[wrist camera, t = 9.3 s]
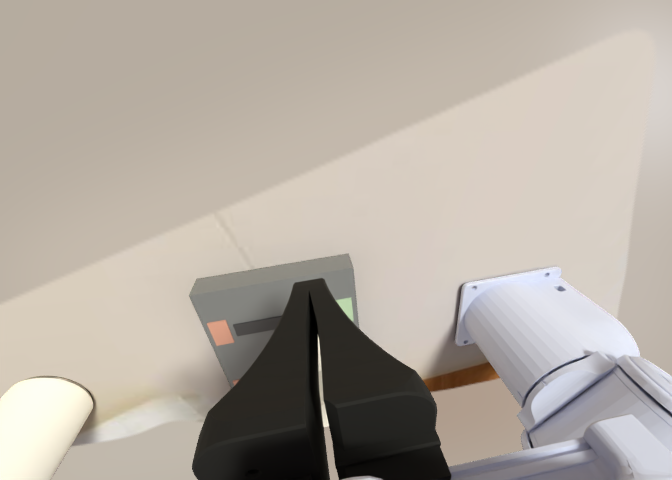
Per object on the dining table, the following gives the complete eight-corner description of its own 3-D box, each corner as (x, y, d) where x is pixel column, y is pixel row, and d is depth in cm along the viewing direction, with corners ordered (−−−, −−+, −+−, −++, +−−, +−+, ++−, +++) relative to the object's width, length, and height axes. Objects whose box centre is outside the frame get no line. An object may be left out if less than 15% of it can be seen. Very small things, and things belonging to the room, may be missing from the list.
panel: (348, 253, 24) (353, 268, 22) (360, 373, 31) (365, 391, 29) (196, 279, 23) (188, 296, 21) (246, 395, 30) (243, 416, 28)
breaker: (334, 362, 26) (341, 401, 23) (338, 383, 27) (344, 422, 24) (312, 366, 26) (315, 406, 23) (317, 387, 27) (320, 427, 24)
